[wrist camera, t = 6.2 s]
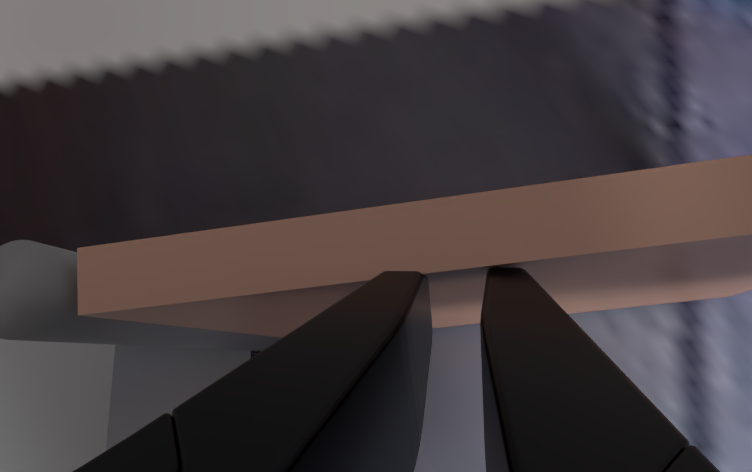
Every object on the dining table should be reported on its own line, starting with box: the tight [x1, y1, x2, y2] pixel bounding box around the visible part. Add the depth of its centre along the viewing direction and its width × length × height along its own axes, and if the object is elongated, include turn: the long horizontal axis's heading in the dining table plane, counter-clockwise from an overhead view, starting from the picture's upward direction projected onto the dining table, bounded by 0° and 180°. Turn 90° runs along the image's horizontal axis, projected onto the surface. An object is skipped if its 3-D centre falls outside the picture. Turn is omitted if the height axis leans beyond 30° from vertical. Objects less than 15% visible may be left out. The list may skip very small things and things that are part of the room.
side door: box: [0, 155, 752, 351], centre depth 12 cm, size 11×1×10 cm, turn 96°
